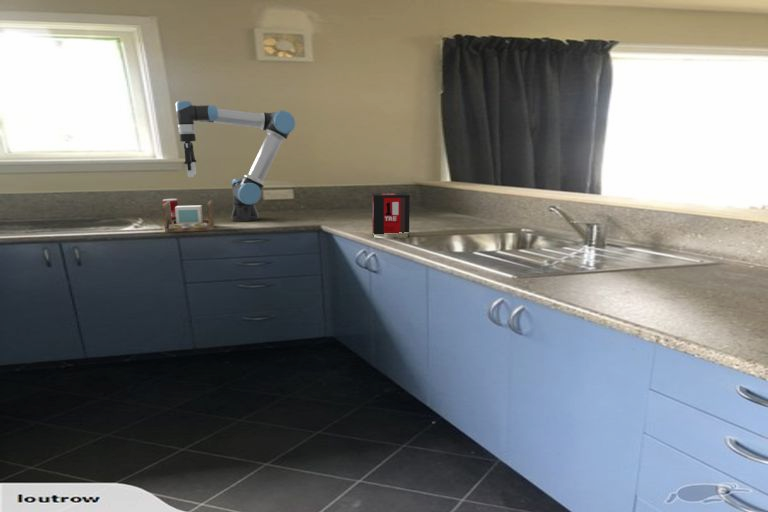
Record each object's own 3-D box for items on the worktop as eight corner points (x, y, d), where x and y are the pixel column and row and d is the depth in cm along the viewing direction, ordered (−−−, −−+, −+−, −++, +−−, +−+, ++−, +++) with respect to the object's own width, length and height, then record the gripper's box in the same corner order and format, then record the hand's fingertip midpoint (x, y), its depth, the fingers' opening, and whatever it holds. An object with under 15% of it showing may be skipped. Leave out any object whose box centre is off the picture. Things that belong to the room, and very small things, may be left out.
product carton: (203, 224, 260) (201, 205, 258) (201, 226, 254) (200, 206, 252) (178, 225, 258) (176, 205, 256) (176, 227, 252) (174, 207, 250)
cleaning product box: (406, 234, 240) (407, 193, 236) (409, 238, 232) (409, 195, 227) (372, 235, 239) (372, 193, 234) (373, 238, 230) (373, 195, 226)
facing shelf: (214, 225, 265) (212, 200, 262) (211, 230, 252) (209, 203, 249) (170, 227, 261) (167, 201, 258) (164, 231, 248) (162, 204, 244)
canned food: (181, 217, 293) (179, 198, 290) (174, 219, 285) (172, 200, 283) (169, 217, 294) (167, 198, 291) (162, 219, 286) (159, 200, 283)
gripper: (182, 133, 261) (187, 174, 266) (175, 133, 237) (181, 178, 243) (197, 133, 263) (202, 173, 268) (192, 133, 239) (197, 177, 244)
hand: (192, 176), depth 255 cm, fingers open, 13 cm apart
